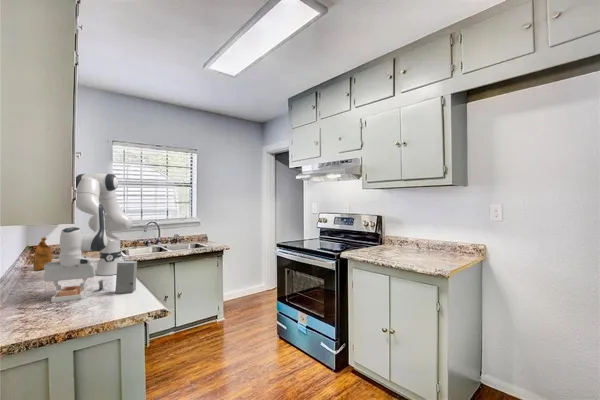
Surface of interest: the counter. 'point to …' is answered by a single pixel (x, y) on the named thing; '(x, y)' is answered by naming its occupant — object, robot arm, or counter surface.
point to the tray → (68, 298)
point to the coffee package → (42, 255)
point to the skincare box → (126, 277)
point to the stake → (100, 286)
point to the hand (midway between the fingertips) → (70, 288)
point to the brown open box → (70, 291)
